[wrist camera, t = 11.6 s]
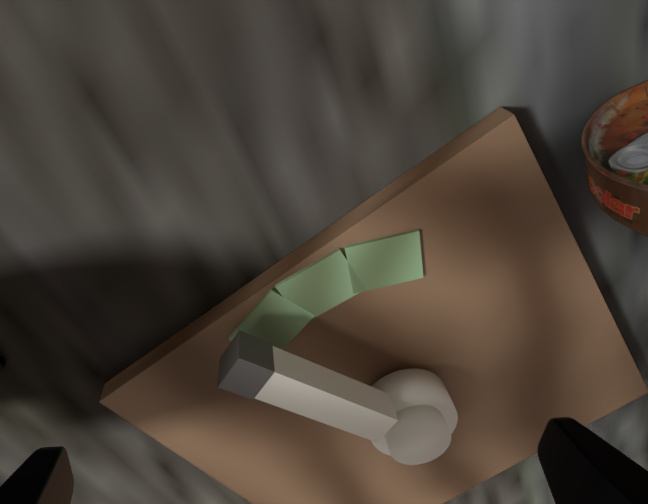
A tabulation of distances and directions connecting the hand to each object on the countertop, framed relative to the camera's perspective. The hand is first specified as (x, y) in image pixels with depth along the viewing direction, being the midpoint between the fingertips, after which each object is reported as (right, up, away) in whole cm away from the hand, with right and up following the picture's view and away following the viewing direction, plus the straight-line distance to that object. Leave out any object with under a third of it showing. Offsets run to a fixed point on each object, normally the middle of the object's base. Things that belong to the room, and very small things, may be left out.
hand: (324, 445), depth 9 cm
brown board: (+4, -3, +18) cm, 19 cm away
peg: (+1, -2, +15) cm, 15 cm away
